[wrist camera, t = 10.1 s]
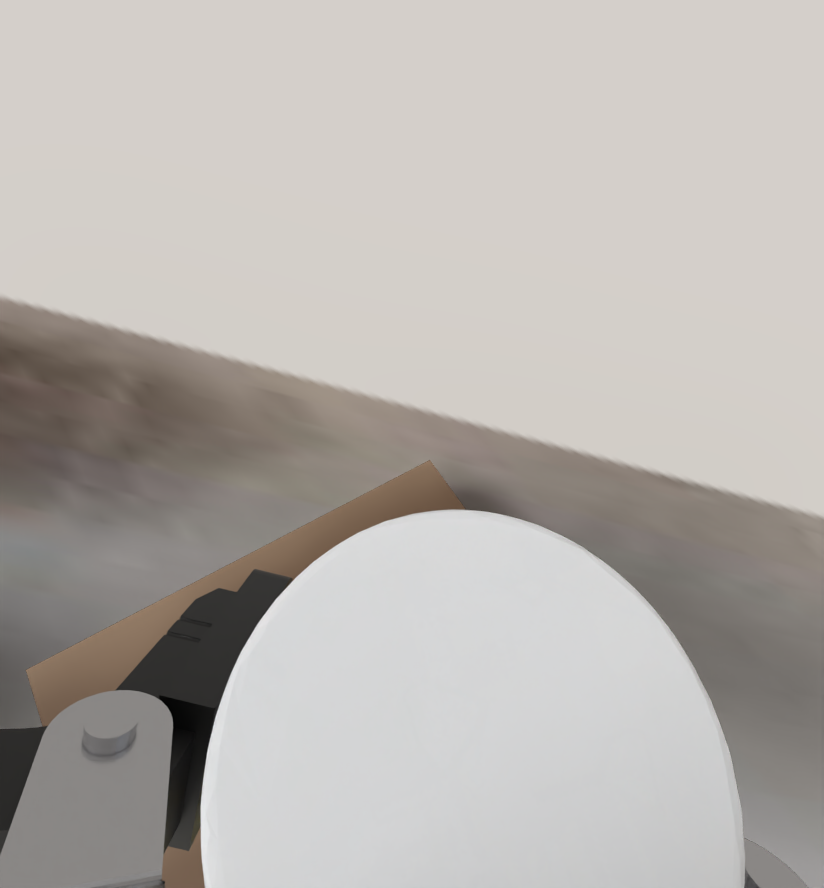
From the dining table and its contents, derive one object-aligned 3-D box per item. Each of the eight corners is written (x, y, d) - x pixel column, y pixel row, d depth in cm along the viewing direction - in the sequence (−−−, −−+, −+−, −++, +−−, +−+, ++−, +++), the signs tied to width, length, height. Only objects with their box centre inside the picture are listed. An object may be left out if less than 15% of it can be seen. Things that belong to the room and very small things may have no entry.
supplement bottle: (526, 711, 14) (835, 634, 5) (433, 971, 11) (783, 1655, 3) (345, 603, 14) (369, 391, 6) (213, 819, 12) (-65, 962, 3)
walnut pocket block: (71, 682, 20) (25, 670, 17) (417, 493, 26) (429, 460, 23) (253, 1234, 14) (234, 1364, 11) (645, 821, 20) (700, 833, 17)
